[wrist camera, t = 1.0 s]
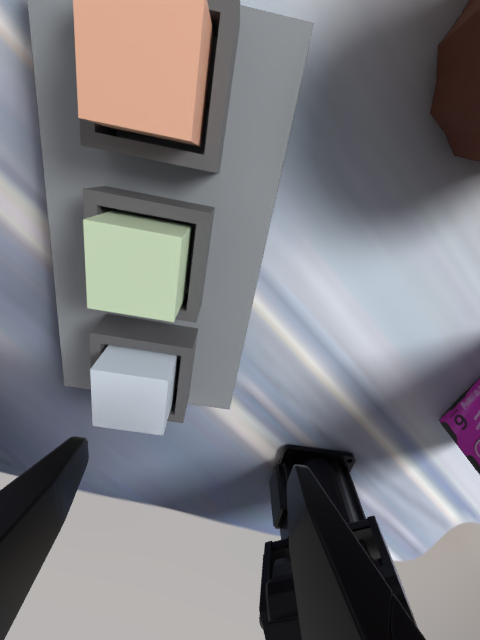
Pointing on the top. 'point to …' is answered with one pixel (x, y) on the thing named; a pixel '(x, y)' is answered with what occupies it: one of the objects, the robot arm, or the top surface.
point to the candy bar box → (466, 424)
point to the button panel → (172, 193)
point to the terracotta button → (144, 65)
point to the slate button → (133, 389)
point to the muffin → (460, 84)
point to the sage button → (136, 264)
